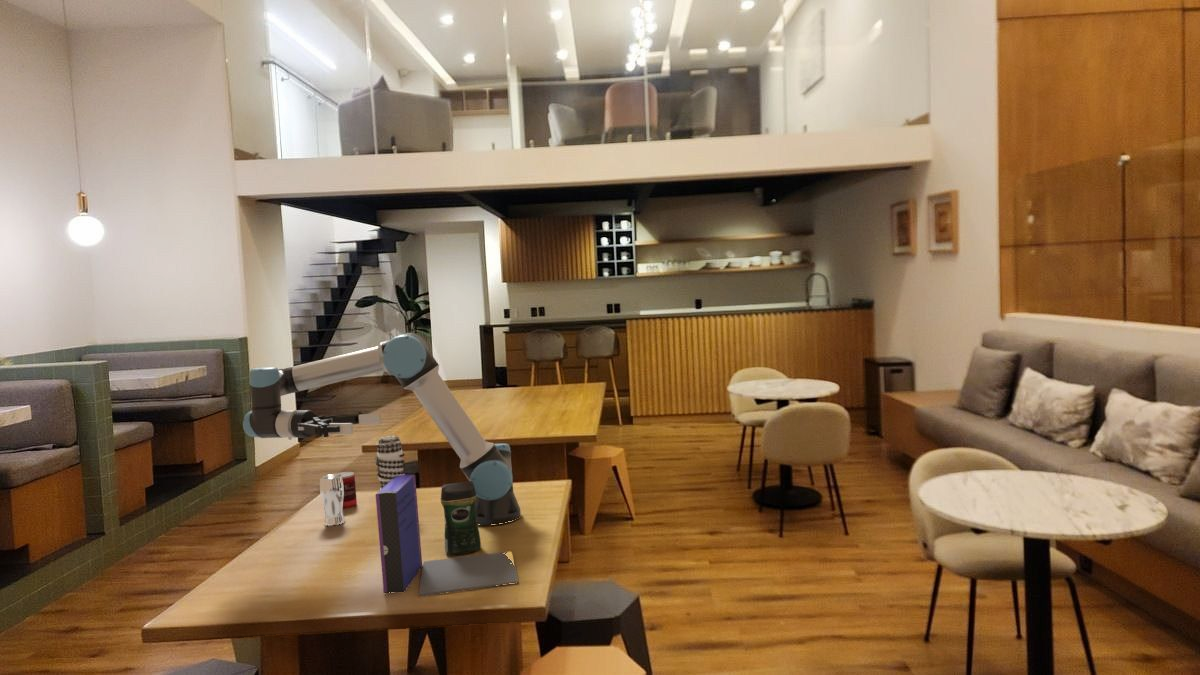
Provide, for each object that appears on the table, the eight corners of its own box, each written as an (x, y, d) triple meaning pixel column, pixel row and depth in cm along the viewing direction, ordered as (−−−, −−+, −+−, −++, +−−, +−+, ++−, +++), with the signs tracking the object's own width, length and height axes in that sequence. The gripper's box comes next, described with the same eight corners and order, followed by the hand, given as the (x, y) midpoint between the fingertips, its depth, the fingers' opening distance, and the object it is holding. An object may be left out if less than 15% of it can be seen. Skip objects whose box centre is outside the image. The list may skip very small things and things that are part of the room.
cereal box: (403, 566, 194) (396, 475, 192) (422, 565, 194) (414, 473, 192) (383, 593, 176) (375, 493, 175) (404, 592, 176) (395, 492, 175)
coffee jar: (479, 543, 208) (474, 477, 207) (482, 552, 201) (477, 484, 199) (444, 548, 206) (439, 481, 205) (445, 557, 198) (439, 488, 197)
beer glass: (338, 526, 233) (334, 479, 232) (318, 526, 234) (314, 479, 233) (350, 519, 239) (346, 473, 238) (331, 519, 241) (326, 473, 240)
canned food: (335, 504, 260) (333, 472, 259) (359, 502, 261) (356, 470, 260) (329, 510, 252) (327, 478, 252) (354, 508, 253) (351, 476, 252)
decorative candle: (396, 507, 250) (390, 433, 249) (415, 511, 245) (409, 435, 243) (374, 515, 243) (367, 439, 241) (392, 518, 237) (386, 440, 236)
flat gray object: (512, 552, 199) (512, 550, 199) (518, 583, 177) (518, 581, 177) (423, 563, 195) (423, 561, 195) (418, 596, 173) (418, 594, 173)
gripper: (326, 429, 217) (392, 428, 212) (268, 447, 193) (340, 447, 188) (324, 403, 217) (390, 402, 212) (265, 418, 193) (338, 418, 188)
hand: (366, 423), depth 200 cm, fingers open, 13 cm apart
